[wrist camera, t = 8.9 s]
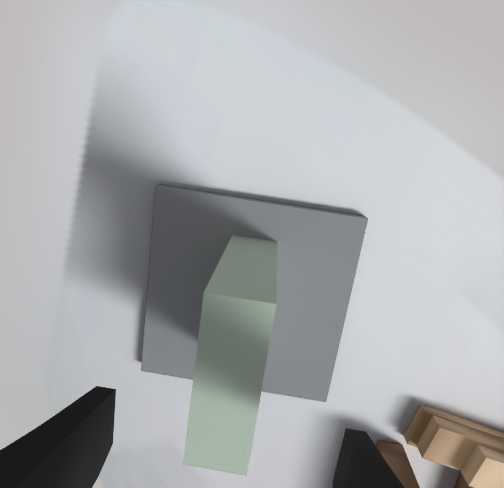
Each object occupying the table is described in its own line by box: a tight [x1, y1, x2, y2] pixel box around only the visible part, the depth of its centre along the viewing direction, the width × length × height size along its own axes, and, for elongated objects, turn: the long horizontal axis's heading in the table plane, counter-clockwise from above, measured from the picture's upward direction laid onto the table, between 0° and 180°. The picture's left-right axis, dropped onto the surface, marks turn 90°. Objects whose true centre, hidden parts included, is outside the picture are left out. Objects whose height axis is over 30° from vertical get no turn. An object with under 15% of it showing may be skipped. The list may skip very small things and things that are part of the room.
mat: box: [141, 185, 368, 402], centre depth 22 cm, size 11×11×1 cm
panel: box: [183, 235, 278, 476], centre depth 17 cm, size 2×7×8 cm, turn 172°
